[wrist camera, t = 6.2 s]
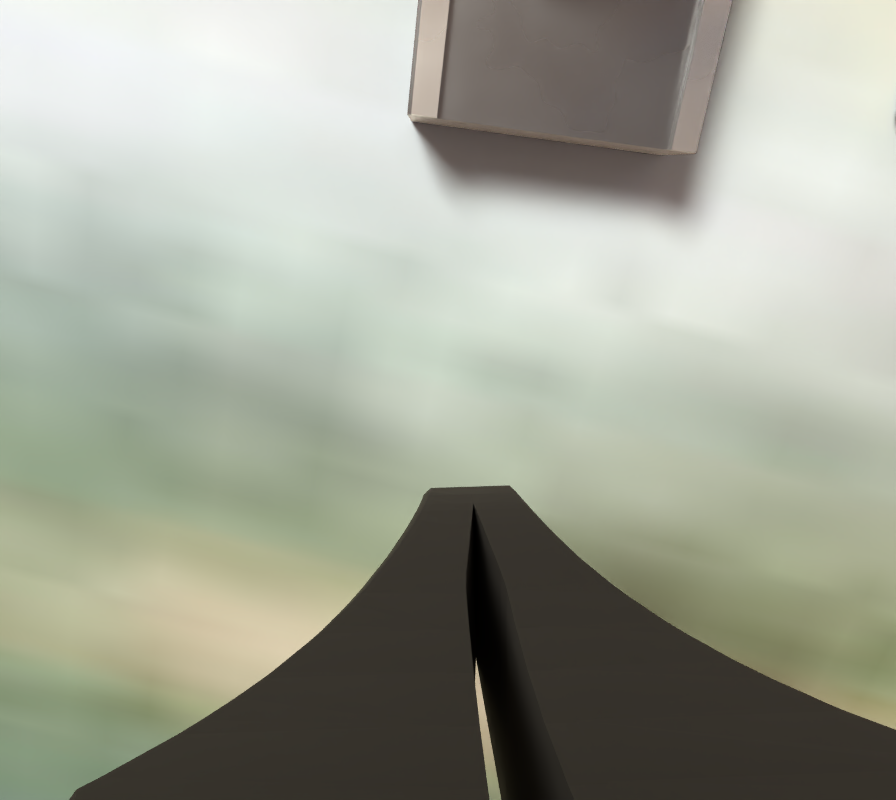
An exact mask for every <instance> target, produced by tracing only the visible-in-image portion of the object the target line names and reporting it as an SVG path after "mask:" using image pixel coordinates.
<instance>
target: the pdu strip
mask: <svg viewBox="0 0 896 800" xmlns="http://www.w3.org/2000/svg"><path fill="white" fill-rule="evenodd" d="M731 4H732V0H418V8H417V19H416V29H415V40H414V50H413V61H412V71H411V82H410V92H409V103H408V113H407V115H408V116H409V118H410V120H411V121H412V122H420V123H427V124H434V125H442V126H449V127H457V128H464V129H471V130H479V131H486V132H493V133H501V134H508V135H515V136H523V137H530V138H537V139H545V140H552V141H559V142H567V143H574V144H582V145H589V146H596V147H604V148H611V149H618V150H626V151H633V152H640V153H648V154H655V155H680V154H696V151H697V147H698V143H699V139H700V135H701V130H702V126H703V122H704V118H705V113H706V109H707V105H708V101H709V97H710V92H711V88H712V84H713V80H714V76H715V71H716V67H717V63H718V59H719V54H720V50H721V46H722V42H723V38H724V33H725V29H726V25H727V21H728V16H729V12H730V8H731Z"/></svg>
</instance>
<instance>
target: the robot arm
mask: <svg viewBox="0 0 896 800" xmlns="http://www.w3.org/2000/svg"><path fill="white" fill-rule="evenodd" d="M476 660H477V666H478V671H479V677H480V683H481V688H482V694H483V700H484V705H485V711H486V716H487V722H488V727H489V733H490V738H491V744H492V749H493V755H494V760H495V766H496V771H497V777H498V782H499V788H500V793H501V800H896V730H895V729H892V728H889V727H887V726H884V725H881V724H879V723H876V722H873V721H870V720H868V719H865V718H862V717H860V716H857V715H854V714H852V713H849V712H846V711H844V710H841V709H839V708H837V707H834V706H832V705H829V704H827V703H825V702H823V701H820V700H818V699H816V698H814V697H811V696H809V695H807V694H805V693H802V692H800V691H798V690H796V689H794V688H791V687H789V686H787V685H785V684H782V683H780V682H778V681H776V680H773V679H771V678H769V677H767V676H765V675H763V674H761V673H759V672H757V671H755V670H753V669H751V668H749V667H747V666H745V665H743V664H741V663H739V662H737V661H735V660H733V659H731V658H729V657H727V656H725V655H724V654H722V653H720V652H718V651H716V650H715V649H713V648H711V647H709V646H707V645H706V644H704V643H702V642H700V641H698V640H696V639H695V638H693V637H691V636H689V635H687V634H686V633H684V632H682V631H681V630H679V629H677V628H676V627H674V626H672V625H671V624H669V623H668V622H666V621H664V620H663V619H661V618H660V617H658V616H657V615H655V614H654V613H652V612H651V611H649V610H648V609H646V608H645V607H643V606H642V605H640V604H639V603H638V602H636V601H635V600H633V599H632V598H630V597H629V596H627V595H626V594H624V593H623V592H622V591H620V590H619V589H618V588H616V587H615V586H614V585H612V584H611V583H610V582H608V581H607V580H606V579H605V578H603V577H602V576H601V575H600V574H599V573H597V572H596V571H595V570H594V569H593V568H591V567H590V566H589V565H588V564H586V563H585V562H584V561H583V560H582V559H580V558H579V557H578V556H577V555H576V554H575V553H574V552H573V551H572V550H571V549H570V548H569V547H568V546H567V545H566V544H565V543H564V542H563V541H562V540H560V539H559V538H558V537H557V536H556V535H555V534H554V533H553V532H552V531H551V530H550V529H549V528H548V527H547V526H546V525H545V523H544V522H543V521H542V520H541V519H540V518H539V517H538V516H537V515H536V514H535V513H534V512H533V511H532V509H531V508H530V507H529V506H528V505H527V504H526V503H525V502H524V500H523V499H522V498H521V497H520V496H519V495H518V494H517V492H516V491H515V490H513V489H512V488H511V487H510V486H481V487H451V488H430V489H429V490H428V491H427V492H426V493H425V494H424V496H423V499H422V501H421V503H420V505H419V507H418V509H417V511H416V513H415V515H414V517H413V518H412V520H411V522H410V523H409V525H408V527H407V528H406V530H405V532H404V533H403V535H402V536H401V537H400V539H399V540H398V542H397V543H396V545H395V546H394V548H393V549H392V551H391V552H390V554H389V555H388V556H387V558H386V559H385V561H384V562H383V563H382V564H381V566H380V567H379V568H378V569H377V570H376V572H375V573H374V574H373V575H372V577H371V578H370V579H369V580H368V582H367V583H366V584H365V585H364V587H363V588H362V589H361V590H360V591H359V593H358V594H357V595H356V596H355V597H354V598H353V599H352V600H351V601H350V603H349V604H348V605H347V606H346V607H345V608H344V609H343V610H342V611H341V612H340V613H339V614H338V615H337V616H336V617H335V618H334V619H333V620H332V621H331V622H330V623H329V624H328V625H327V626H326V627H325V628H324V629H323V630H322V631H321V632H320V633H319V634H317V635H316V636H315V637H314V638H313V639H312V640H311V641H309V642H308V643H307V644H306V645H305V646H303V647H302V648H301V649H300V650H298V651H297V652H296V653H295V654H293V655H292V656H291V657H290V658H289V659H287V660H286V661H285V662H284V663H282V664H281V665H280V666H279V667H278V668H276V669H275V670H274V671H273V672H271V673H270V674H269V675H267V676H266V677H265V678H263V679H262V680H260V681H259V682H257V683H256V684H255V685H253V686H252V687H250V688H249V689H248V690H246V691H245V692H243V693H242V694H240V695H239V696H238V697H236V698H235V699H233V700H232V701H230V702H229V703H227V704H225V705H224V706H222V707H221V708H219V709H218V710H216V711H215V712H213V713H212V714H210V715H208V716H207V717H205V718H204V719H202V720H201V721H199V722H197V723H196V724H194V725H193V726H191V727H189V728H188V729H186V730H184V731H183V732H181V733H179V734H178V735H176V736H174V737H172V738H171V739H169V740H167V741H165V742H163V743H162V744H160V745H158V746H156V747H154V748H152V749H151V750H149V751H147V752H145V753H143V754H142V755H140V756H138V757H136V758H134V759H133V760H131V761H129V762H127V763H125V764H124V765H122V766H120V767H118V768H116V769H115V770H113V771H111V772H109V773H107V774H106V775H104V776H102V777H100V778H98V779H96V780H94V781H92V782H90V783H88V784H86V785H84V786H82V787H81V788H79V789H77V790H76V791H75V792H74V794H73V795H72V797H71V798H70V800H489V793H488V786H487V778H486V771H485V763H484V755H483V748H482V740H481V732H480V724H479V716H478V707H477V698H476V689H475V666H476Z"/></svg>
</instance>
